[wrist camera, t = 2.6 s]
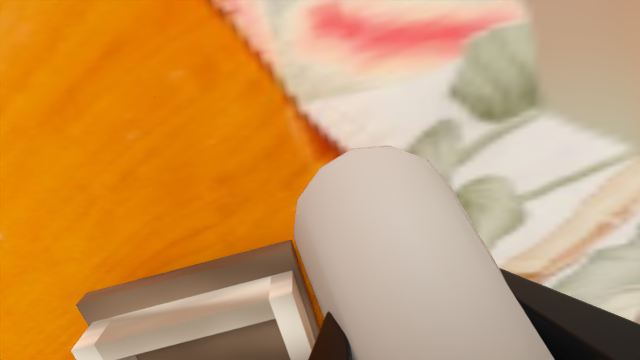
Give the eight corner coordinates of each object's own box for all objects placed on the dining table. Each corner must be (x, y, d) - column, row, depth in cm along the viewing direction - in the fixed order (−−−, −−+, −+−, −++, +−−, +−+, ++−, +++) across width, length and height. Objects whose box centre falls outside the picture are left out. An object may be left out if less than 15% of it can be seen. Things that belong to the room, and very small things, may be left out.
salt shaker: (300, 266, 16) (320, 1050, 3) (286, 139, 14) (208, 872, 1) (429, 253, 16) (906, 939, 3) (434, 127, 14) (1514, 651, 2)
